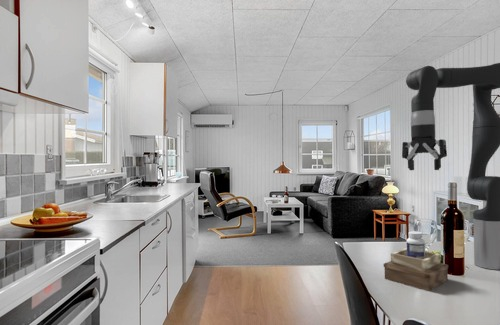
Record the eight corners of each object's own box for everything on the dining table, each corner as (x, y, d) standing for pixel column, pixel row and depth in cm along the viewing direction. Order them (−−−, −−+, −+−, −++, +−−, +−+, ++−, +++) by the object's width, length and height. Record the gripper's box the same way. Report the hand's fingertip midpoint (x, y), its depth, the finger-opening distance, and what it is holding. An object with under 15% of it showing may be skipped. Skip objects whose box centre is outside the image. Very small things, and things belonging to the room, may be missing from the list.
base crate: (404, 269, 116) (404, 255, 116) (448, 280, 105) (448, 265, 105) (383, 278, 108) (383, 263, 108) (429, 291, 96) (428, 274, 96)
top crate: (407, 257, 114) (406, 247, 114) (440, 264, 105) (440, 254, 105) (391, 263, 107) (390, 253, 107) (425, 272, 99) (425, 260, 99)
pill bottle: (409, 258, 110) (408, 230, 110) (426, 261, 107) (426, 231, 107) (405, 262, 106) (404, 232, 106) (423, 265, 103) (422, 234, 103)
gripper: (449, 122, 110) (450, 169, 110) (407, 127, 121) (408, 169, 121) (440, 121, 106) (441, 170, 106) (397, 126, 117) (398, 170, 117)
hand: (423, 170), depth 113 cm, fingers open, 8 cm apart
